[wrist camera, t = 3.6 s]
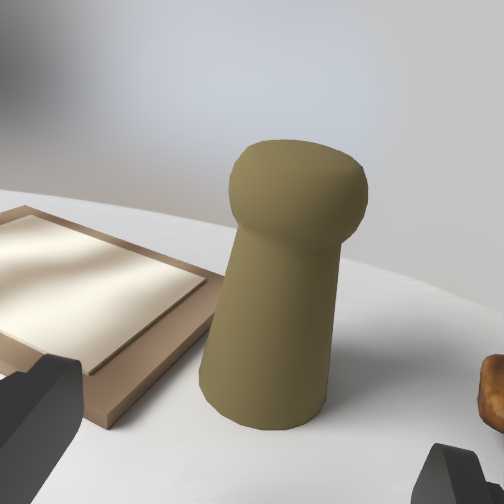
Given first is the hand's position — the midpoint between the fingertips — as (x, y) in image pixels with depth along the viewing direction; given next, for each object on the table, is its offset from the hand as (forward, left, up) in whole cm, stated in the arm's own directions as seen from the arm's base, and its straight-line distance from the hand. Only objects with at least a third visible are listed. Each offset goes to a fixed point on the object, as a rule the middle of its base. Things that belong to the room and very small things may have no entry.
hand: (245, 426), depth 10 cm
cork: (+2, -9, -7) cm, 11 cm away
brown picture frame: (+15, -9, -7) cm, 19 cm away
